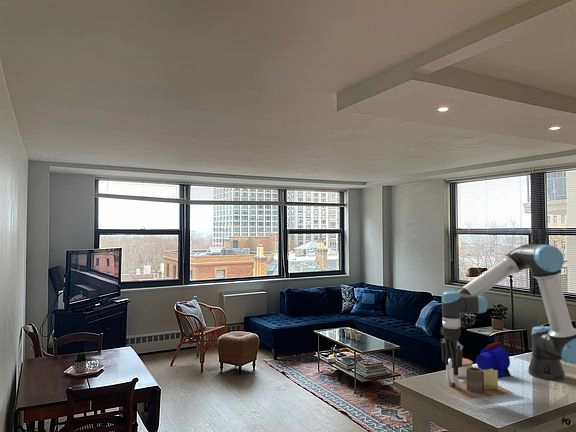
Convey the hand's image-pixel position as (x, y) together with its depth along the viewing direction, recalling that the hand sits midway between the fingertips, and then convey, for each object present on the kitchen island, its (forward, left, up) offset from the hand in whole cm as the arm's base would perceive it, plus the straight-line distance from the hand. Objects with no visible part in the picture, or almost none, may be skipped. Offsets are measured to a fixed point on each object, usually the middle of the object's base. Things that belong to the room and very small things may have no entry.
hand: (452, 380), depth 186 cm
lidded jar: (-14, -12, -4) cm, 19 cm away
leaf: (-13, +8, -2) cm, 16 cm away
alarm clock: (-32, -12, -4) cm, 34 cm away
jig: (-8, +5, -4) cm, 10 cm away
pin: (0, 0, -2) cm, 2 cm away
